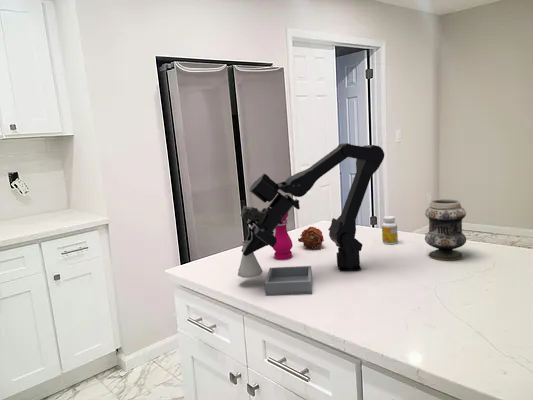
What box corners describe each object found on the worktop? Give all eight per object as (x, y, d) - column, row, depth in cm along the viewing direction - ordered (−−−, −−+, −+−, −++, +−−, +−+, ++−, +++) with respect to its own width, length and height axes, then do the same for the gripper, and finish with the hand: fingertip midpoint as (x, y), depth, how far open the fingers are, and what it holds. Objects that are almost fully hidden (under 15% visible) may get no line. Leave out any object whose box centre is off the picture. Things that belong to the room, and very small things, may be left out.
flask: (249, 268, 123) (246, 237, 121) (267, 272, 118) (264, 239, 117) (233, 276, 118) (229, 244, 116) (251, 280, 113) (247, 246, 111)
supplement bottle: (379, 242, 148) (378, 217, 147) (392, 239, 150) (391, 214, 148) (388, 245, 143) (387, 219, 142) (400, 243, 145) (399, 217, 143)
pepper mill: (292, 260, 137) (287, 203, 133) (271, 260, 138) (266, 204, 135) (294, 253, 144) (290, 199, 140) (275, 254, 145) (270, 200, 142)
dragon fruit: (318, 255, 144) (305, 252, 155) (333, 239, 146) (319, 236, 157) (303, 239, 142) (291, 237, 154) (318, 222, 144) (305, 221, 156)
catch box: (312, 276, 119) (311, 265, 119) (311, 293, 107) (310, 281, 106) (270, 278, 121) (269, 267, 120) (265, 295, 109) (264, 283, 108)
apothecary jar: (475, 256, 124) (475, 200, 121) (445, 264, 119) (444, 206, 116) (445, 248, 135) (444, 196, 132) (417, 254, 130) (415, 201, 128)
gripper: (250, 191, 124) (219, 230, 124) (260, 200, 106) (224, 245, 106) (276, 212, 127) (246, 251, 126) (291, 224, 108) (256, 269, 108)
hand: (243, 253), depth 117 cm, fingers closed on flask, 3 cm apart
